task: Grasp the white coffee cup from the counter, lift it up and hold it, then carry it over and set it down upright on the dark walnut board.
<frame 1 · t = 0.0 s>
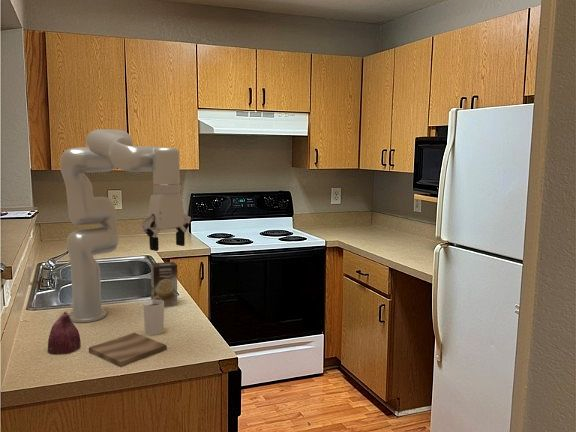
hand: (167, 247, 153), 31 cm above the worktop, tool pointing down, fingers open, 9 cm apart
walnut board: (128, 350, 155), on the worktop
white coffee cup: (154, 332, 171), on the worktop
coffee box: (164, 305, 200), on the worktop
vegetable: (64, 349, 156), on the worktop
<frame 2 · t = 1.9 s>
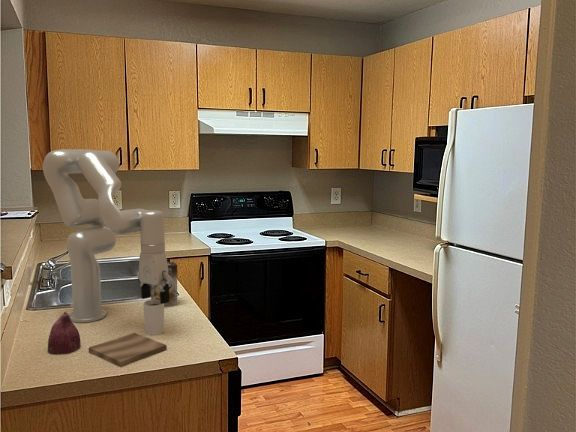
hand: (155, 300, 169), 11 cm above the worktop, tool pointing down, fingers open, 9 cm apart
nothing on the worktop moved.
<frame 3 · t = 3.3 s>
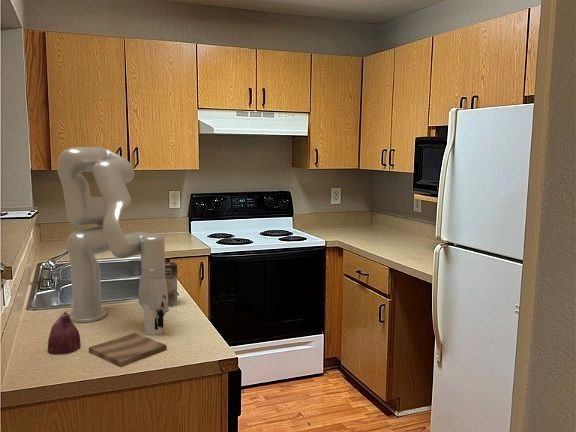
hand: (154, 326, 170), 2 cm above the worktop, tool pointing down, fingers closed on white coffee cup, 3 cm apart
white coffee cup: (154, 332, 171), on the worktop, touching gripper
everything else where it was.
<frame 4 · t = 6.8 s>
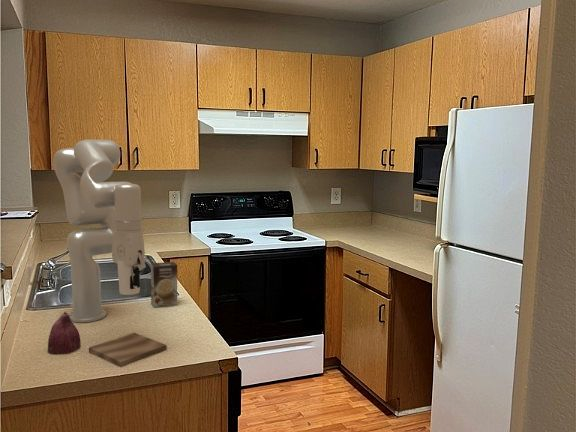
hand: (130, 286, 154), 19 cm above the worktop, tool pointing down, fingers closed on white coffee cup, 3 cm apart
white coffee cup: (129, 292, 154), point 17 cm above the worktop, touching gripper
everything else where it was.
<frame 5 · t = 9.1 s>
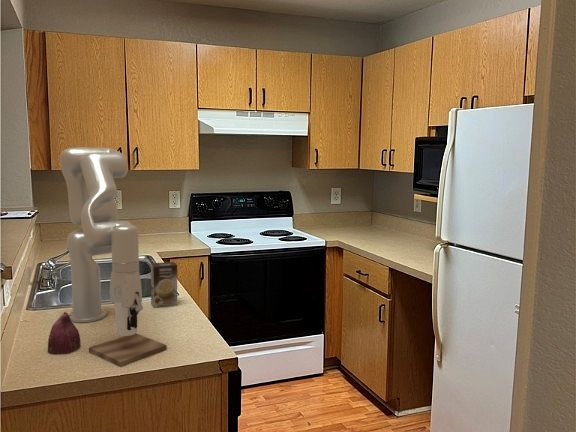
hand: (127, 326, 153), 8 cm above the worktop, tool pointing down, fingers closed on white coffee cup, 3 cm apart
white coffee cup: (127, 333, 154), point 6 cm above the worktop, touching gripper
everything else where it was.
when the fingers open (5 cm above the worktop, at t = 10.5 s): white coffee cup drops 1 cm, resting on walnut board.
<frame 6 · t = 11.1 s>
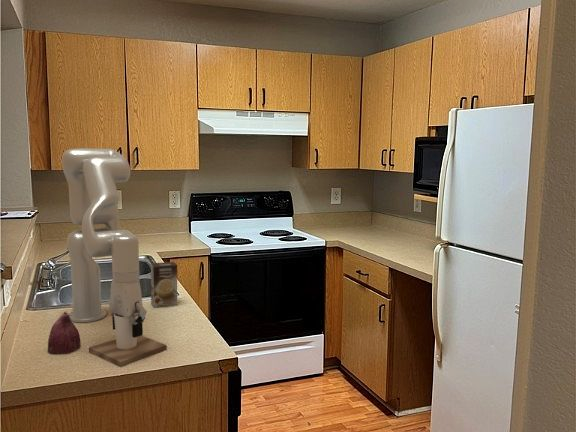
hand: (127, 332, 154), 6 cm above the worktop, tool pointing down, fingers open, 9 cm apart
white coffee cup: (126, 346, 155), point 1 cm above the worktop, touching walnut board
everything else where it was.
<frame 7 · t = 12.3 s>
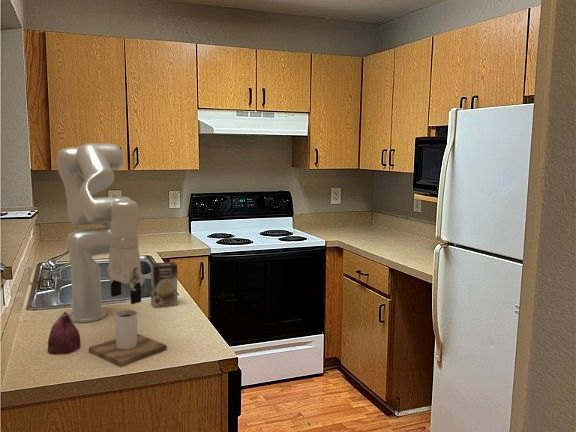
hand: (125, 299, 153), 16 cm above the worktop, tool pointing down, fingers open, 9 cm apart
nothing on the worktop moved.
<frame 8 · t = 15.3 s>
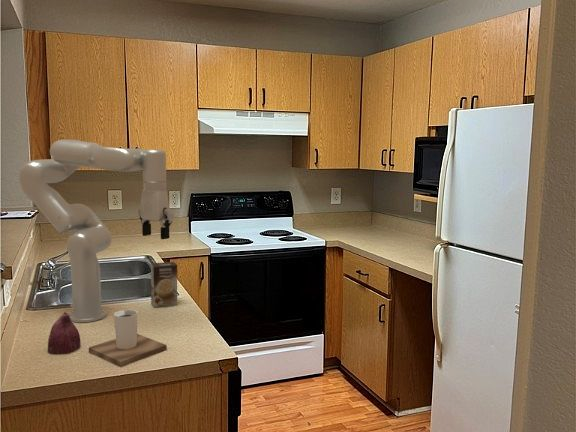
hand: (155, 237, 175), 30 cm above the worktop, tool pointing down, fingers open, 9 cm apart
nothing on the worktop moved.
at the end: white coffee cup inside the target area on the walnut board (0.7 cm from its centre), point 1.3 cm above the walnut board's base; white coffee cup tilted 0°; the gripper is holding nothing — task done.
